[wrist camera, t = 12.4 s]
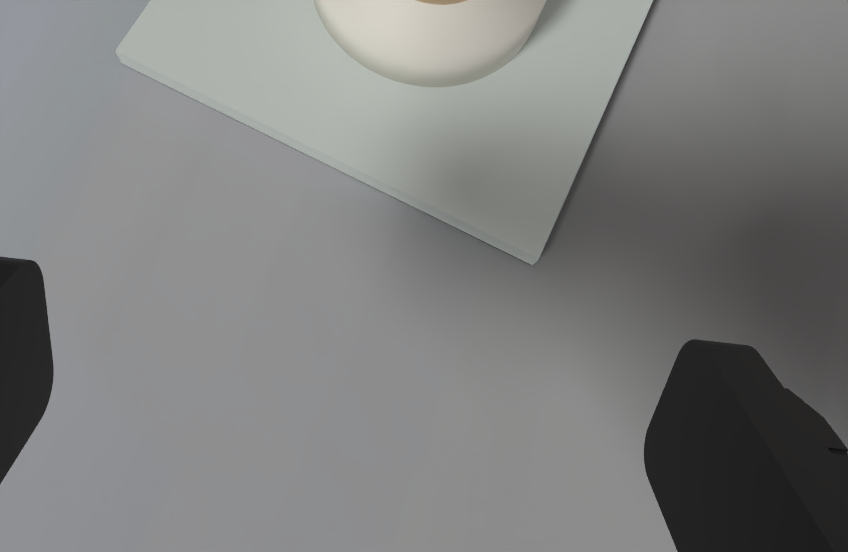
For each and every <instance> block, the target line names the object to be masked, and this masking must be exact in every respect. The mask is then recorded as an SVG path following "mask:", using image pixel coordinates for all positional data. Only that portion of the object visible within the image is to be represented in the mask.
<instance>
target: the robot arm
mask: <svg viewBox="0 0 848 552" xmlns="http://www.w3.org/2000/svg"><path fill="white" fill-rule="evenodd" d="M52 384H53V358H52V349H51V341H50V332H49V324H48V315H47V307H46V298H45V289H44V281H43V275H42V272H41V269H40V267H39V266H38V264H37V263H36V262H34V261H32V260H25V259H16V258H7V257H0V484H1V482H2V480H3V479H4V477H5V476H6V474H7V472H8V471H9V469H10V468H11V466H12V465H13V463H14V461H15V460H16V458H17V457H18V455H19V453H20V452H21V450H22V449H23V447H24V445H25V444H26V442H27V441H28V439H29V437H30V436H31V434H32V433H33V431H34V429H35V428H36V426H37V425H38V423H39V421H40V420H41V418H42V416H43V414H44V412H45V410H46V407H47V405H48V402H49V398H50V394H51V390H52ZM847 451H848V449H847V448H846V446H845V445H844V444H843V442H842V441H841V440H840V438H839V437H838V436H837V435H836V433H835V432H834V431H833V429H832V428H831V427H830V425H829V424H828V423H827V421H826V420H825V419H824V417H822V416H821V415H820V414H819V413H817V412H816V411H815V410H814V409H812V408H811V407H810V406H809V405H807V404H806V403H805V402H804V401H802V400H801V399H800V398H799V397H798V396H796V395H795V394H794V393H793V392H791V391H790V390H789V389H786V388H784V387H783V386H782V385H781V383H780V382H779V381H778V379H777V378H776V376H775V375H774V374H773V372H772V371H771V370H770V368H769V367H768V365H767V364H766V363H765V361H764V360H763V359H762V357H761V356H760V354H759V353H758V352H757V351H756V350H755V349H754V348H753V347H750V346H747V345H738V344H730V343H721V342H713V341H704V340H690V341H688V342H687V343H685V345H684V346H683V347H682V348H681V350H680V352H679V354H678V356H677V358H676V361H675V363H674V366H673V368H672V371H671V373H670V375H669V378H668V380H667V383H666V385H665V388H664V390H663V392H662V395H661V397H660V400H659V402H658V405H657V407H656V410H655V412H654V414H653V417H652V419H651V422H650V424H649V427H648V430H647V433H646V437H645V444H644V462H645V469H646V473H647V477H648V479H649V482H650V484H651V487H652V489H653V492H654V494H655V497H656V499H657V502H658V504H659V507H660V509H661V512H662V514H663V517H664V519H665V521H666V524H667V526H668V529H669V531H670V534H671V536H672V539H673V541H674V544H675V546H676V549H677V551H678V552H848V454H847Z"/></svg>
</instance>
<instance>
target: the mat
mask: <svg viewBox="0 0 848 552" xmlns="http://www.w3.org/2000/svg"><path fill="white" fill-rule="evenodd" d="M652 2H653V0H547V1H546V3H545V5H544V7H543V9H542V11H541V13H540V16H539V18H538V20H537V22H536V24H535V26H534V28H533V31H532V33H531V34H530V36H529V38H528V40H527V41H526V43H525V45H524V46H523V47H522V49H521V50H520V51H519V52H518V54H517V55H516V56H515V57H514V58H512V59H511V60H510V61H509V62H508V63H507V64H506V65H504V66H503V67H502V68H500V69H499V70H497V71H496V72H494V73H492V74H490V75H488V76H486V77H484V78H482V79H479V80H476V81H473V82H470V83H466V84H462V85H457V86H449V87H422V86H415V85H409V84H405V83H401V82H397V81H394V80H391V79H389V78H386V77H384V76H381V75H379V74H377V73H375V72H373V71H371V70H369V69H368V68H366V67H364V66H363V65H361V64H360V63H358V62H357V61H356V60H354V59H353V58H351V57H350V56H349V55H348V54H347V53H346V52H345V51H344V50H343V49H342V48H341V47H340V46H339V45H338V44H337V43H336V42H335V40H334V39H333V38H332V37H331V36H330V34H329V32H328V31H327V29H326V28H325V26H324V25H323V23H322V21H321V19H320V17H319V14H318V12H317V10H316V7H315V3H314V0H151V1H150V2H149V4H148V5H147V6H146V8H145V9H144V11H143V12H142V14H141V15H140V16H139V18H138V19H137V21H136V22H135V23H134V25H133V26H132V28H131V29H130V31H129V32H128V33H127V35H126V36H125V38H124V39H123V41H122V42H121V43H120V45H119V46H118V48H117V49H116V50H115V51H116V53H117V55H118V57H119V59H120V61H121V63H122V64H124V65H126V66H128V67H130V68H132V69H134V70H136V71H138V72H140V73H142V74H144V75H146V76H149V77H151V78H153V79H155V80H157V81H159V82H161V83H163V84H165V85H167V86H169V87H171V88H173V89H175V90H177V91H179V92H181V93H183V94H185V95H187V96H189V97H191V98H193V99H195V100H197V101H199V102H201V103H203V104H205V105H207V106H210V107H212V108H214V109H216V110H218V111H220V112H222V113H224V114H226V115H228V116H230V117H232V118H234V119H236V120H238V121H240V122H242V123H244V124H246V125H248V126H250V127H252V128H254V129H256V130H258V131H260V132H262V133H264V134H266V135H268V136H271V137H273V138H275V139H277V140H279V141H281V142H283V143H285V144H287V145H289V146H291V147H293V148H295V149H297V150H299V151H301V152H303V153H305V154H307V155H309V156H311V157H313V158H315V159H317V160H319V161H321V162H323V163H325V164H327V165H329V166H332V167H334V168H336V169H338V170H340V171H342V172H344V173H346V174H348V175H350V176H352V177H354V178H356V179H358V180H360V181H362V182H364V183H366V184H368V185H370V186H372V187H374V188H376V189H378V190H380V191H382V192H384V193H386V194H388V195H390V196H393V197H395V198H397V199H399V200H401V201H403V202H405V203H407V204H409V205H411V206H413V207H415V208H417V209H419V210H421V211H423V212H425V213H427V214H429V215H431V216H433V217H435V218H437V219H439V220H441V221H443V222H445V223H447V224H449V225H451V226H454V227H456V228H458V229H460V230H462V231H464V232H466V233H468V234H470V235H472V236H474V237H476V238H478V239H480V240H482V241H484V242H486V243H488V244H490V245H492V246H494V247H496V248H498V249H500V250H502V251H504V252H506V253H508V254H510V255H512V256H515V257H517V258H519V259H521V260H523V261H525V262H527V263H529V264H531V265H533V264H534V263H535V262H537V261H538V260H539V258H540V256H541V253H542V251H543V249H544V247H545V244H546V242H547V240H548V237H549V235H550V233H551V231H552V228H553V226H554V224H555V222H556V219H557V217H558V215H559V213H560V210H561V208H562V206H563V204H564V201H565V199H566V197H567V194H568V192H569V190H570V188H571V185H572V183H573V181H574V179H575V176H576V174H577V172H578V170H579V167H580V165H581V163H582V160H583V158H584V156H585V154H586V151H587V149H588V147H589V145H590V142H591V140H592V138H593V136H594V133H595V131H596V129H597V127H598V124H599V122H600V120H601V117H602V115H603V113H604V111H605V108H606V106H607V104H608V102H609V99H610V97H611V95H612V93H613V90H614V88H615V86H616V83H617V81H618V79H619V77H620V74H621V72H622V70H623V68H624V65H625V63H626V61H627V59H628V56H629V54H630V52H631V50H632V47H633V45H634V43H635V40H636V38H637V36H638V34H639V31H640V29H641V27H642V25H643V22H644V20H645V18H646V16H647V13H648V11H649V9H650V7H651V4H652Z"/></svg>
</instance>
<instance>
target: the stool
mask: <svg viewBox="0 0 848 552" xmlns="http://www.w3.org/2000/svg"><path fill="white" fill-rule="evenodd" d="M546 1H547V0H314V3H315V7H316V10H317V12H318V14H319V17H320V19H321V21H322V23H323V25H324V26H325V28H326V29H327V31H328V32H329V34H330V36H331V37H332V38H333V39H334V40H335V42H336V43H337V44H338V45H339V46H340V47H341V48H342V49H343V50H344V51H345V52H346V53H347V54H348V55H349V56H350V57H351V58H353V59H354V60H356V61H357V62H358V63H360V64H361V65H363V66H364V67H366V68H368V69H369V70H371V71H373V72H375V73H377V74H379V75H381V76H384V77H386V78H389V79H391V80H394V81H397V82H401V83H405V84H409V85H415V86H422V87H449V86H457V85H462V84H466V83H470V82H473V81H476V80H479V79H482V78H484V77H486V76H488V75H490V74H492V73H494V72H496V71H497V70H499V69H500V68H502V67H503V66H504V65H506V64H507V63H508V62H509V61H510V60H511V59H512V58H514V57H515V56H516V55H517V54H518V52H519V51H520V50H521V49H522V47H523V46H524V45H525V43H526V41H527V40H528V38H529V36H530V34H531V33H532V31H533V28H534V26H535V24H536V22H537V20H538V18H539V16H540V13H541V11H542V9H543V7H544V5H545V3H546Z"/></svg>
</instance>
